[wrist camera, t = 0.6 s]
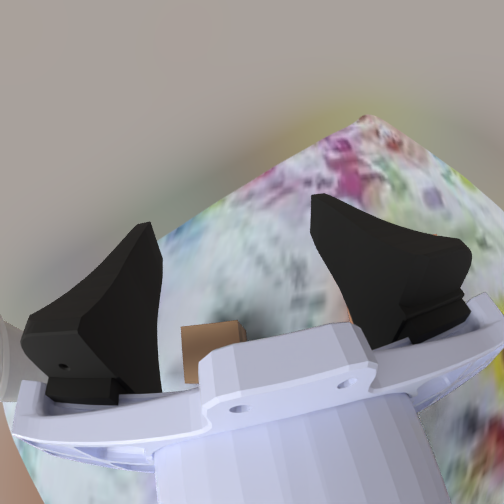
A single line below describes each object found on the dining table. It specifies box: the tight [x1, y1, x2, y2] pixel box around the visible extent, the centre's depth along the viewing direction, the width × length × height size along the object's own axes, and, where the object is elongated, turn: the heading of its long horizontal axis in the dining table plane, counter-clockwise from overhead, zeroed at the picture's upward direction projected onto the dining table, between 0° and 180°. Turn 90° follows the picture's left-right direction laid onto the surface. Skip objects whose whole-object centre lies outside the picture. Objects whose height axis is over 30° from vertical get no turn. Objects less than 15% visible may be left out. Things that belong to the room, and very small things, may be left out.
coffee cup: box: [0, 315, 49, 402], centre depth 19 cm, size 10×10×15 cm
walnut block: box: [181, 320, 247, 384], centre depth 24 cm, size 5×5×5 cm
